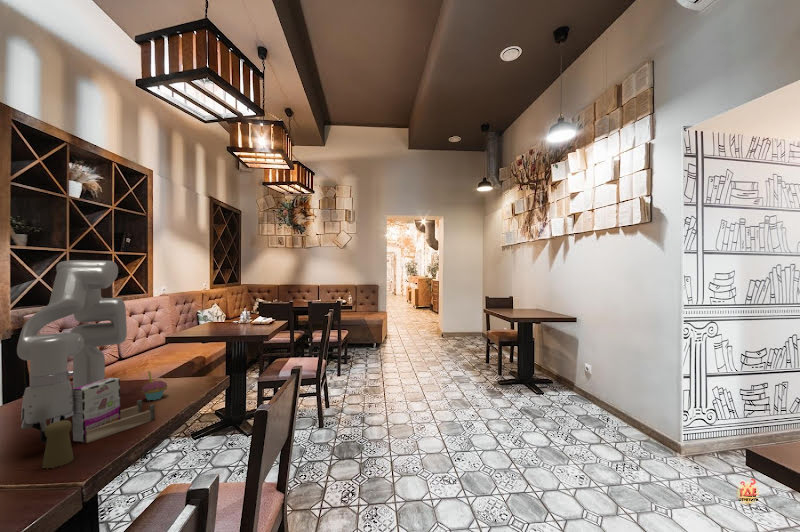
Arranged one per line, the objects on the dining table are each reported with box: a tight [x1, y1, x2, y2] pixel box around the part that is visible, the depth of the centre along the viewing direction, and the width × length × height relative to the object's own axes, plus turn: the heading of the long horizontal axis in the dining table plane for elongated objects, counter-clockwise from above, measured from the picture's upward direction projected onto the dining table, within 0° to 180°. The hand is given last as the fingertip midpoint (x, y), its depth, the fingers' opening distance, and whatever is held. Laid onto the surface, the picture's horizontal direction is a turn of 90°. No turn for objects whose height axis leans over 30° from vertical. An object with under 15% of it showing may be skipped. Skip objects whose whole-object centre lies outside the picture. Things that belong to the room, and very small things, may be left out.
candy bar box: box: [71, 377, 121, 443], centre depth 106 cm, size 11×5×16 cm, turn 168°
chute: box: [85, 399, 156, 444], centre depth 110 cm, size 10×18×5 cm, turn 150°
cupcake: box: [141, 371, 168, 402], centre depth 136 cm, size 9×8×12 cm
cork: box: [41, 419, 74, 470], centre depth 90 cm, size 6×6×11 cm
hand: (48, 442), depth 96 cm, fingers closed
